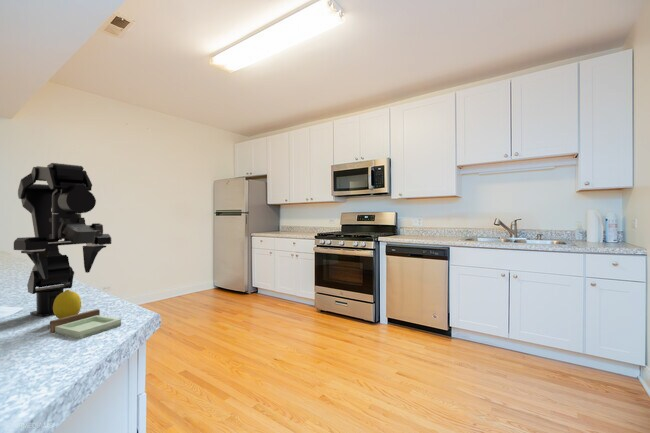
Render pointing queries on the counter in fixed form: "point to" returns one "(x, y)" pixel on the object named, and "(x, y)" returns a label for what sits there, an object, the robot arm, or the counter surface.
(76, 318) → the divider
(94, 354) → the counter surface
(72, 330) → the dish
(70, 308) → the lemon
